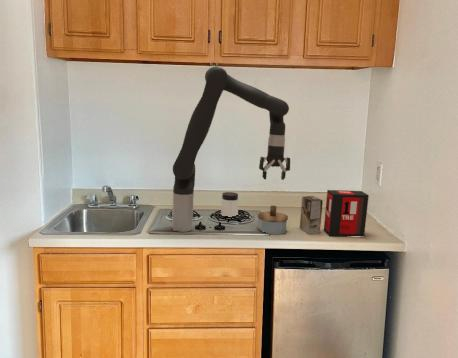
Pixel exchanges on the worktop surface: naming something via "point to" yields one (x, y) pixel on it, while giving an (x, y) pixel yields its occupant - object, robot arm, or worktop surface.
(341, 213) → the cleaning product box
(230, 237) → the worktop surface
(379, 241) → the worktop surface
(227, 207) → the jar
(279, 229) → the bowl
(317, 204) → the coffee box
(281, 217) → the lid
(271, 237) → the worktop surface
